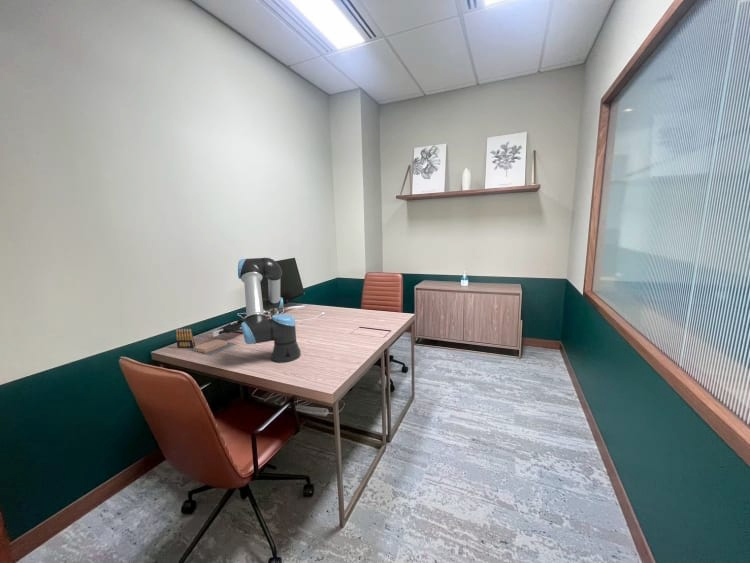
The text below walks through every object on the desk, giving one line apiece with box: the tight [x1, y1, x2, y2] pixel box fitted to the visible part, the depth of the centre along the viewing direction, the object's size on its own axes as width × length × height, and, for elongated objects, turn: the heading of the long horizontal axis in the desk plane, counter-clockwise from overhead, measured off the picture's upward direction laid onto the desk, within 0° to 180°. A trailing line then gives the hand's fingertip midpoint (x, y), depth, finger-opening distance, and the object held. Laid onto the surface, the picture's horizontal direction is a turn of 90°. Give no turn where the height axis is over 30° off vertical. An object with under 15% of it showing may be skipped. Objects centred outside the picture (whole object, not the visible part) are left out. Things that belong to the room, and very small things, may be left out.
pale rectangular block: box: [194, 338, 228, 353], centre depth 175 cm, size 10×2×14 cm
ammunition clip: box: [175, 328, 196, 349], centre depth 176 cm, size 11×2×12 cm, turn 82°
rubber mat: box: [188, 341, 238, 356], centre depth 177 cm, size 20×18×1 cm
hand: (213, 334), depth 176 cm, fingers closed
